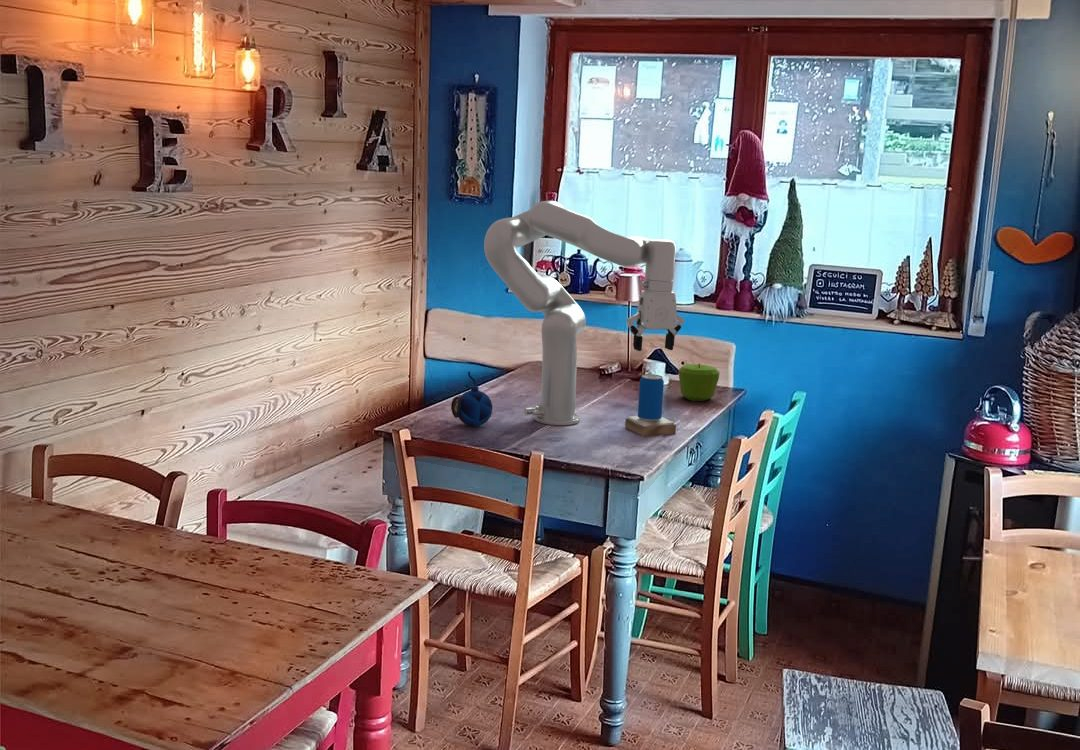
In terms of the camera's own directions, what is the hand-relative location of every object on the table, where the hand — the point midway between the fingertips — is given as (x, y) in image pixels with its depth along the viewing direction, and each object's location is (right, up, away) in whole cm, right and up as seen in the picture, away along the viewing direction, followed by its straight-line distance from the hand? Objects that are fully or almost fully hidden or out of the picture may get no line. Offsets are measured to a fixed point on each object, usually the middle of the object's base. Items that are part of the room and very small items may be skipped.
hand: (653, 349), depth 293 cm
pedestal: (0, -22, +4) cm, 22 cm away
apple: (+18, -14, +45) cm, 51 cm away
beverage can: (-1, -19, +4) cm, 20 cm away
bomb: (-49, -21, +2) cm, 53 cm away
